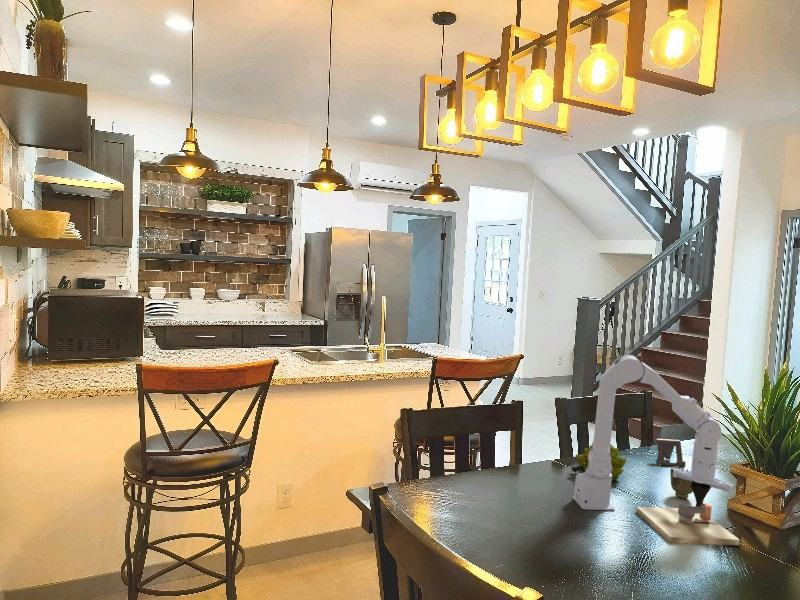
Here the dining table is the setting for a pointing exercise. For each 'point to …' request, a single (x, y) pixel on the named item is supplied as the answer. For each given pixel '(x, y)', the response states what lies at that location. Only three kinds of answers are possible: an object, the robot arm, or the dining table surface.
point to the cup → (680, 485)
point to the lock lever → (695, 511)
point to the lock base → (686, 527)
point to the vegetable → (615, 461)
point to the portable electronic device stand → (669, 452)
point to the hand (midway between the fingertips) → (699, 509)
